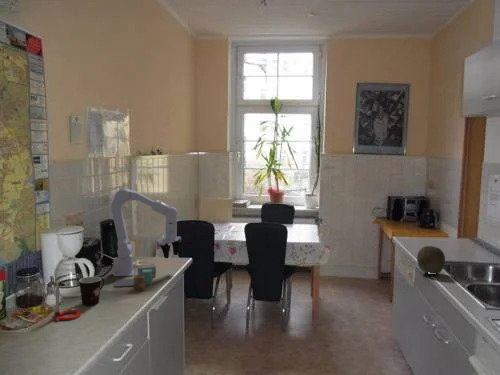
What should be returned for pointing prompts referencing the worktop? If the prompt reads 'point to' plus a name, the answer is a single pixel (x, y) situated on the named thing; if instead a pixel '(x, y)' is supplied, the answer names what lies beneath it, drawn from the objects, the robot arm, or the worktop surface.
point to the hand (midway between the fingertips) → (171, 256)
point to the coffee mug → (90, 290)
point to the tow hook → (58, 314)
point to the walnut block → (139, 282)
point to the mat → (124, 283)
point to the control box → (146, 267)
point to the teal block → (147, 276)
